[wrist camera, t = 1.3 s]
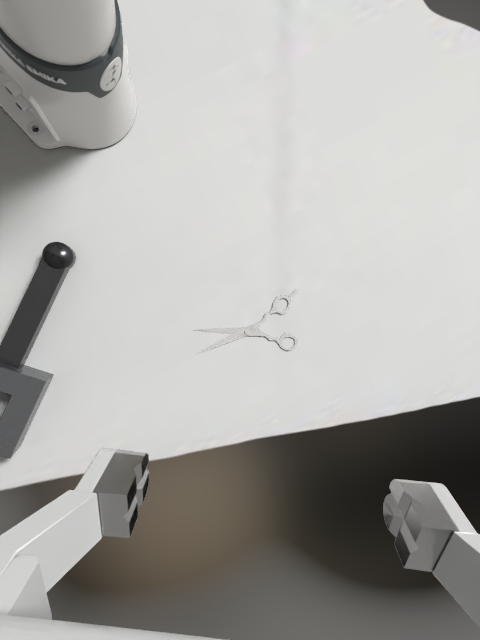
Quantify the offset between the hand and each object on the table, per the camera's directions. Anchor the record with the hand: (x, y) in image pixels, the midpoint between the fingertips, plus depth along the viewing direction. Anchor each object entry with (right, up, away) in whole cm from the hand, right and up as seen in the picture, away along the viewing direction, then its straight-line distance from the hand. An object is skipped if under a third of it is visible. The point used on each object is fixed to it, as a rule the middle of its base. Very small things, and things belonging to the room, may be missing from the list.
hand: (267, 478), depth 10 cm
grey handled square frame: (-31, +3, +32) cm, 45 cm away
